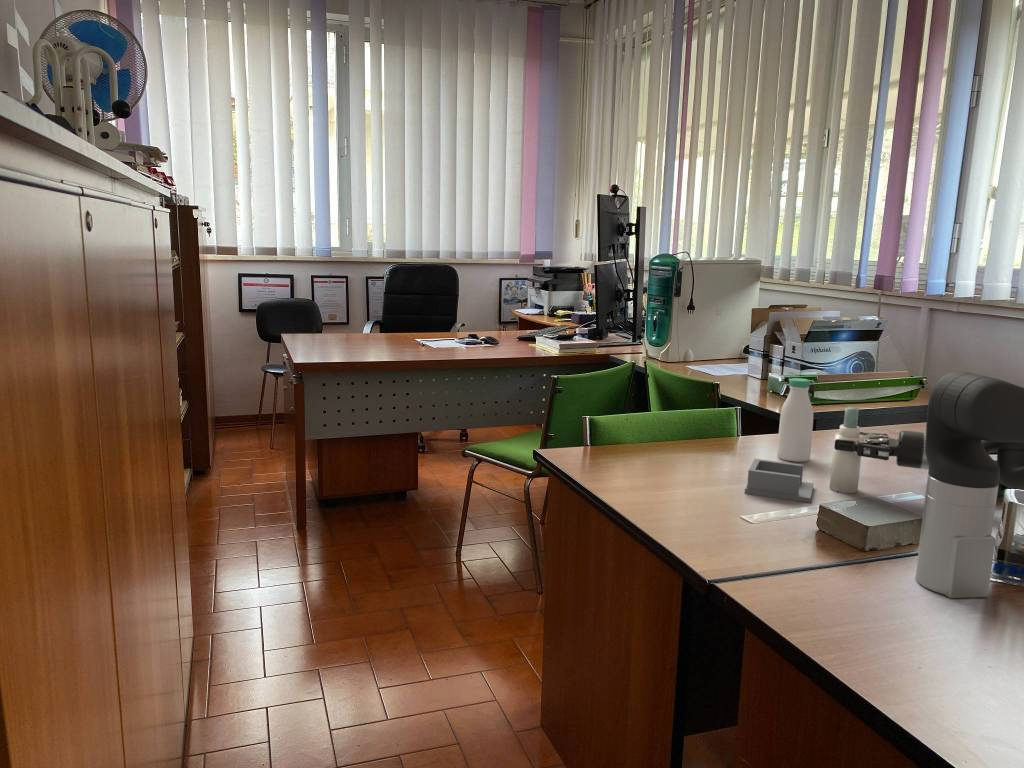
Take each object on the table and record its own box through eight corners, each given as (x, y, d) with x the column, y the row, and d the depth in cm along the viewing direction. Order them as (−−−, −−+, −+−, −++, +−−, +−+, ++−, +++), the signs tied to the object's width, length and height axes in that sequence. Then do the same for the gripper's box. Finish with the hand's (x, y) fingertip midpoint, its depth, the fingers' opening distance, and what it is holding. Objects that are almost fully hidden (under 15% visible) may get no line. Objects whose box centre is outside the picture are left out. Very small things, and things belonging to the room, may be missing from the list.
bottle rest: (810, 502, 152) (812, 479, 151) (744, 493, 157) (746, 470, 157) (813, 487, 162) (815, 465, 161) (751, 479, 167) (753, 457, 166)
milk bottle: (812, 463, 180) (819, 382, 177) (779, 461, 182) (785, 381, 178) (806, 455, 188) (813, 377, 184) (774, 453, 189) (781, 375, 185)
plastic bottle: (862, 493, 159) (871, 411, 155) (837, 493, 158) (846, 411, 155) (849, 484, 164) (857, 405, 161) (824, 485, 164) (832, 405, 160)
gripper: (924, 477, 148) (832, 466, 155) (919, 459, 160) (834, 449, 167) (928, 441, 146) (835, 431, 153) (923, 425, 159) (837, 417, 166)
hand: (835, 440), depth 160 cm, fingers closed on plastic bottle, 5 cm apart
